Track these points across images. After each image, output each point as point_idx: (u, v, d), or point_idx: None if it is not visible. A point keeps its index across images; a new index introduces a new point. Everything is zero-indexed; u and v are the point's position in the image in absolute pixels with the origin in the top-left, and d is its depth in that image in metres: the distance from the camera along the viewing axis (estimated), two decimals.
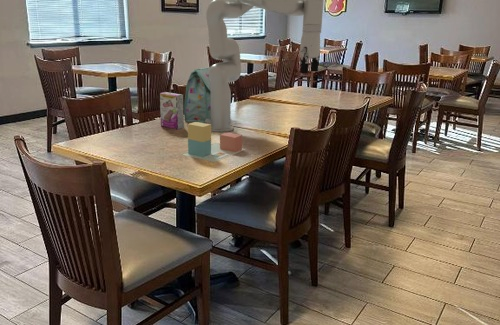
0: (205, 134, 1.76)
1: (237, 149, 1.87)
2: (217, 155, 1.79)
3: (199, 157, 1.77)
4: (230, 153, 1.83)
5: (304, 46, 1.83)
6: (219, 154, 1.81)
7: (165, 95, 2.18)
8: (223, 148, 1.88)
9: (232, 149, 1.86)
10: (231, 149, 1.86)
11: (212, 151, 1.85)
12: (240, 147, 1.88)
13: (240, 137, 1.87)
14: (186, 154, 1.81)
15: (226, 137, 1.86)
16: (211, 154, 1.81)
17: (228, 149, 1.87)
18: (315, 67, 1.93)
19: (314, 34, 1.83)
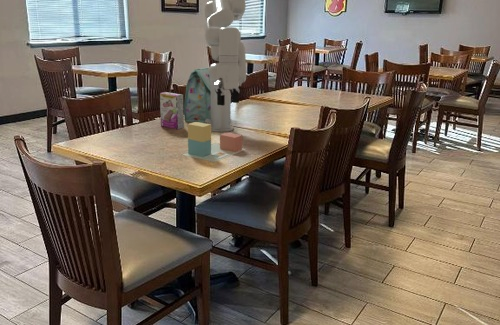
0: (205, 134, 1.76)
1: (237, 149, 1.87)
2: (217, 155, 1.79)
3: (199, 157, 1.77)
4: (230, 153, 1.83)
5: (219, 77, 1.78)
6: (219, 154, 1.81)
7: (165, 95, 2.18)
8: (223, 148, 1.88)
9: (232, 149, 1.86)
10: (231, 149, 1.86)
11: (212, 151, 1.85)
12: (240, 147, 1.88)
13: (240, 137, 1.87)
14: (186, 154, 1.81)
15: (226, 137, 1.86)
16: (211, 154, 1.81)
17: (228, 149, 1.87)
18: (236, 98, 1.87)
19: (229, 65, 1.77)
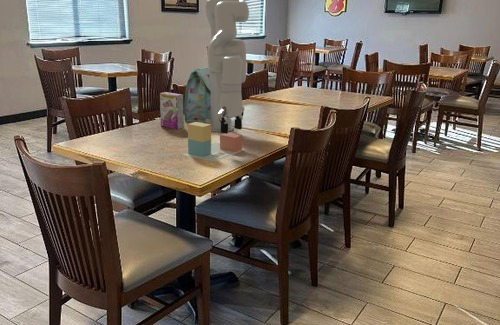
0: (205, 134, 1.76)
1: (237, 149, 1.87)
2: (217, 155, 1.79)
3: (199, 157, 1.77)
4: (230, 153, 1.83)
5: (223, 106, 1.79)
6: (219, 154, 1.81)
7: (165, 95, 2.18)
8: (223, 148, 1.88)
9: (232, 149, 1.86)
10: (231, 149, 1.86)
11: (212, 151, 1.85)
12: (240, 147, 1.88)
13: (240, 137, 1.87)
14: (186, 154, 1.81)
15: (226, 137, 1.86)
16: (211, 154, 1.81)
17: (228, 149, 1.87)
18: (239, 125, 1.89)
19: (233, 94, 1.79)
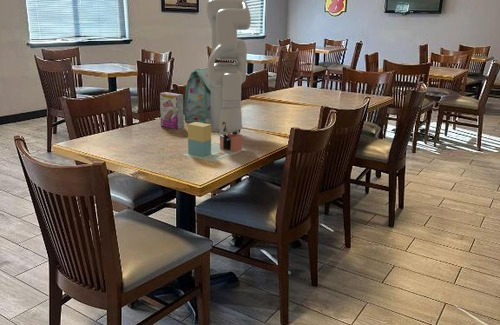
0: (205, 134, 1.76)
1: (237, 149, 1.87)
2: (217, 155, 1.79)
3: (199, 157, 1.77)
4: (230, 153, 1.83)
5: (223, 121, 1.82)
6: (219, 154, 1.81)
7: (165, 95, 2.18)
8: (223, 148, 1.88)
9: (232, 149, 1.86)
10: (231, 149, 1.86)
11: (212, 151, 1.85)
12: (240, 147, 1.88)
13: (240, 137, 1.87)
14: (186, 154, 1.81)
15: None
16: (211, 154, 1.81)
17: None
18: None
19: (232, 110, 1.81)
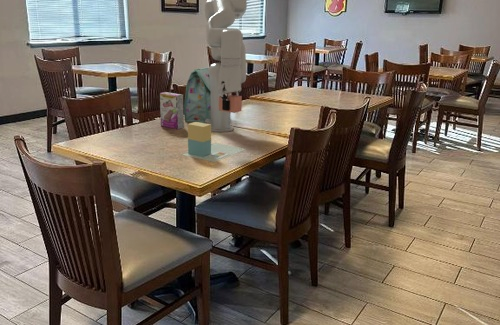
0: (205, 134, 1.76)
1: (237, 110, 1.81)
2: (217, 155, 1.79)
3: (199, 157, 1.77)
4: (230, 153, 1.83)
5: (222, 81, 1.76)
6: (219, 154, 1.81)
7: (165, 95, 2.18)
8: (222, 109, 1.83)
9: (231, 110, 1.81)
10: (231, 110, 1.81)
11: (212, 151, 1.85)
12: (240, 108, 1.83)
13: (240, 98, 1.82)
14: (186, 154, 1.81)
15: None
16: (211, 154, 1.81)
17: None
18: None
19: (232, 68, 1.76)
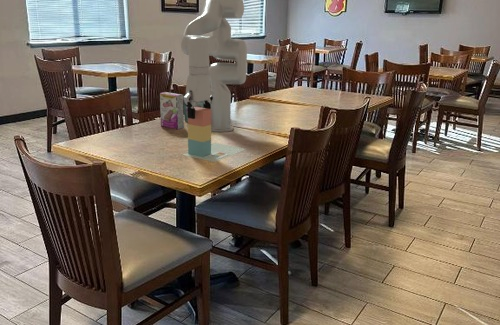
0: (205, 134, 1.76)
1: (206, 124, 1.75)
2: (217, 155, 1.79)
3: (199, 157, 1.77)
4: (230, 153, 1.83)
5: (189, 90, 1.70)
6: (219, 154, 1.81)
7: (165, 95, 2.18)
8: (191, 123, 1.77)
9: (200, 124, 1.75)
10: (199, 124, 1.75)
11: (212, 151, 1.85)
12: (209, 122, 1.77)
13: (209, 111, 1.76)
14: (186, 154, 1.81)
15: None
16: (211, 154, 1.81)
17: (196, 124, 1.76)
18: None
19: (200, 77, 1.69)
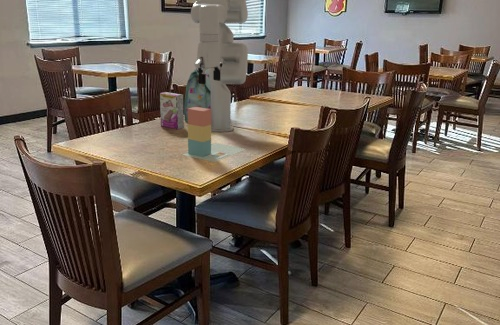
0: (205, 134, 1.76)
1: (206, 124, 1.75)
2: (217, 155, 1.79)
3: (199, 157, 1.77)
4: (230, 153, 1.83)
5: (200, 56, 1.79)
6: (219, 154, 1.81)
7: (165, 95, 2.18)
8: (191, 123, 1.77)
9: (200, 124, 1.75)
10: (199, 124, 1.75)
11: (212, 151, 1.85)
12: (209, 122, 1.77)
13: (209, 111, 1.76)
14: (186, 154, 1.81)
15: (194, 111, 1.75)
16: (211, 154, 1.81)
17: (196, 124, 1.76)
18: (217, 76, 1.89)
19: (210, 44, 1.78)
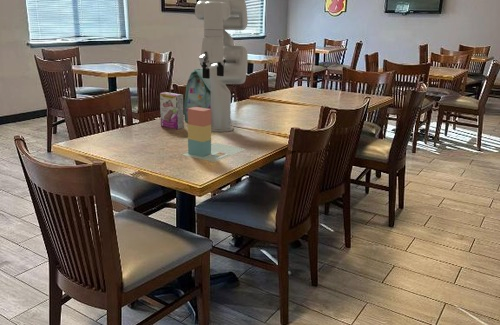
0: (205, 134, 1.76)
1: (206, 124, 1.75)
2: (217, 155, 1.79)
3: (199, 157, 1.77)
4: (230, 153, 1.83)
5: (204, 51, 1.83)
6: (219, 154, 1.81)
7: (165, 95, 2.18)
8: (191, 123, 1.77)
9: (200, 124, 1.75)
10: (199, 124, 1.75)
11: (212, 151, 1.85)
12: (209, 122, 1.77)
13: (209, 111, 1.76)
14: (186, 154, 1.81)
15: (194, 111, 1.75)
16: (211, 154, 1.81)
17: (196, 124, 1.76)
18: (221, 72, 1.93)
19: (214, 39, 1.82)
